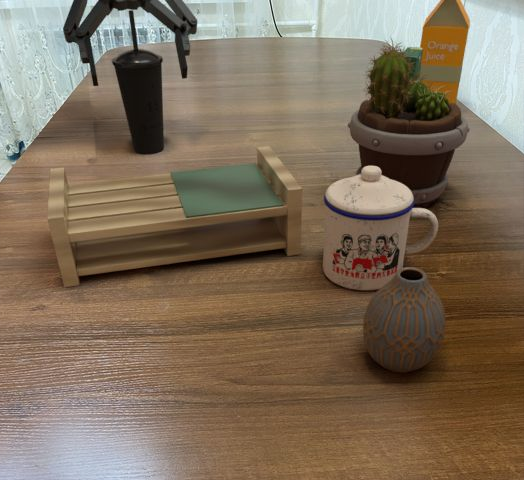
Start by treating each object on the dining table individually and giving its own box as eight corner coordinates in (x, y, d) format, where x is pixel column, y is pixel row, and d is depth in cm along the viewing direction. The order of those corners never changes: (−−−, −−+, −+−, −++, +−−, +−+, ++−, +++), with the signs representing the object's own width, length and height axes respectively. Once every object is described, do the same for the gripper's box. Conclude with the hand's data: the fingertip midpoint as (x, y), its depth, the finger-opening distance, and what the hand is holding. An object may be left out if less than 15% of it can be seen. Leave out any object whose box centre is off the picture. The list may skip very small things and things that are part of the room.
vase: (362, 332, 58) (371, 250, 53) (437, 340, 57) (453, 257, 51) (356, 378, 53) (365, 292, 47) (438, 388, 51) (457, 300, 46)
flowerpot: (424, 170, 90) (447, 18, 78) (475, 213, 78) (511, 42, 66) (330, 180, 88) (338, 25, 76) (367, 226, 76) (384, 51, 64)
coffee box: (397, 127, 106) (406, 45, 98) (413, 128, 105) (424, 45, 97) (388, 142, 100) (398, 55, 92) (406, 144, 99) (417, 56, 91)
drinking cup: (115, 151, 99) (92, 12, 87) (148, 138, 104) (130, 4, 91) (150, 160, 95) (131, 16, 83) (182, 146, 100) (168, 8, 88)
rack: (64, 230, 76) (50, 168, 71) (269, 205, 81) (269, 146, 76) (64, 287, 65) (47, 218, 60) (300, 254, 70) (302, 188, 65)
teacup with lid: (322, 293, 64) (327, 186, 56) (318, 251, 71) (323, 152, 64) (438, 293, 63) (458, 186, 56) (422, 251, 70) (438, 151, 63)
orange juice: (410, 114, 112) (426, -11, 100) (414, 101, 118) (430, -18, 106) (454, 117, 110) (476, -10, 98) (455, 104, 117) (476, -17, 104)
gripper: (29, -65, 89) (51, 69, 86) (197, -72, 94) (223, 55, 91) (39, -27, 96) (60, 98, 94) (195, -34, 101) (218, 84, 98)
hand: (140, 77), depth 92 cm, fingers open, 13 cm apart
